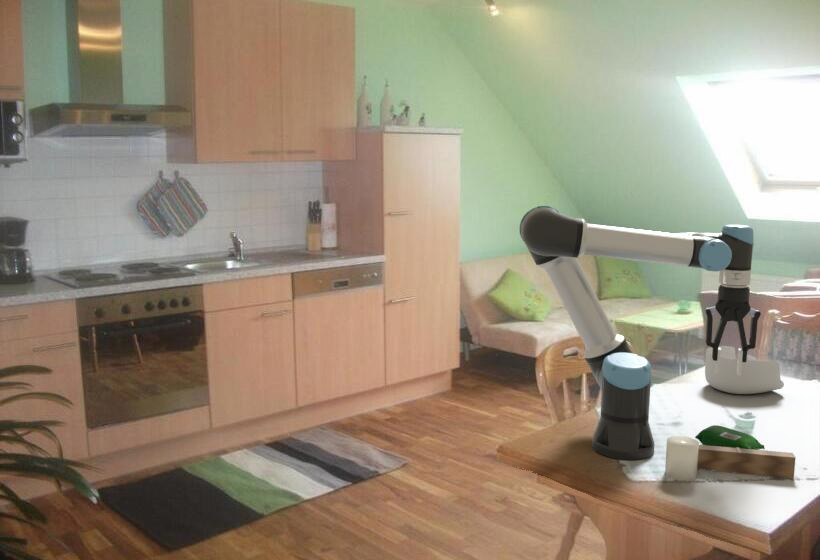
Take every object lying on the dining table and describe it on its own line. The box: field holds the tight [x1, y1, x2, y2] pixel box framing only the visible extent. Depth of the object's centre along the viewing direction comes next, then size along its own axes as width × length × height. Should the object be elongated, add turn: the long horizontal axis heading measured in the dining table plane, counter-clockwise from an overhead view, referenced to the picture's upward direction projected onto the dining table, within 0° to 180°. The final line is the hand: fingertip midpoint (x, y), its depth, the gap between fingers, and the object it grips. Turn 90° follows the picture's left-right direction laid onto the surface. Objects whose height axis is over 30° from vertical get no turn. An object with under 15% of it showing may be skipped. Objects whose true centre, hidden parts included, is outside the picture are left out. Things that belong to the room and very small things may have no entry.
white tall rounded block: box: [664, 435, 700, 481], centre depth 190 cm, size 7×7×8 cm
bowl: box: [704, 345, 785, 395], centre depth 257 cm, size 20×19×12 cm
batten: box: [697, 444, 796, 479], centre depth 192 cm, size 22×3×5 cm, turn 76°
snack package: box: [694, 424, 766, 450], centre depth 205 cm, size 7×16×5 cm, turn 36°
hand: (728, 373), depth 214 cm, fingers open, 4 cm apart
